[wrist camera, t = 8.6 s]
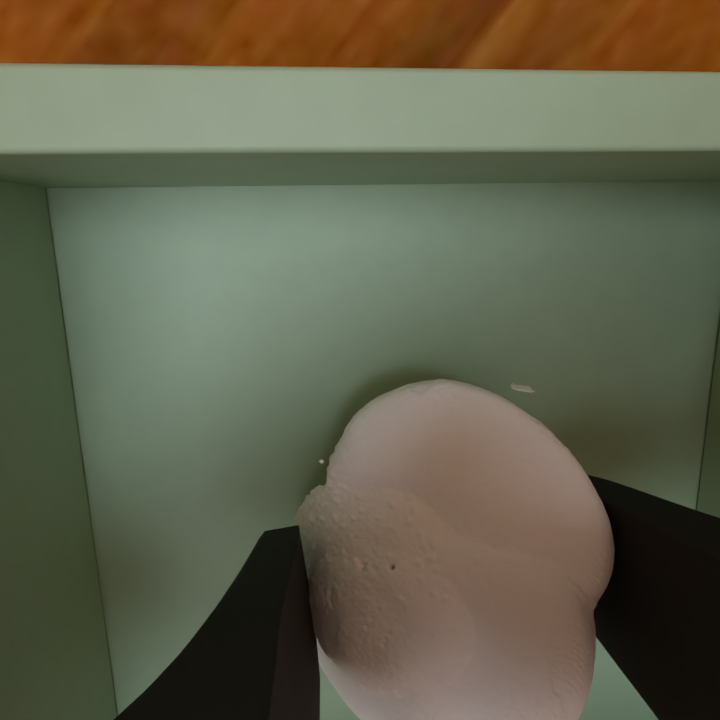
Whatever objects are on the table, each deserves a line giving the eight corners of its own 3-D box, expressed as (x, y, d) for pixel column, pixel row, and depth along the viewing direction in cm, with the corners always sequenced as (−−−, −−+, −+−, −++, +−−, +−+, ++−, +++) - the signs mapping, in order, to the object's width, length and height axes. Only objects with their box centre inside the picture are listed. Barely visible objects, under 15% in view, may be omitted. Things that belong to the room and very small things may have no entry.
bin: (757, 141, 12) (1135, 74, 7) (680, 728, 15) (889, 996, 10) (3, 143, 10) (-299, 58, 5) (102, 801, 14) (-15, 1171, 8)
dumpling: (499, 651, 13) (524, 850, 10) (280, 588, 13) (221, 759, 10) (624, 380, 11) (724, 509, 7) (350, 305, 11) (305, 391, 7)
